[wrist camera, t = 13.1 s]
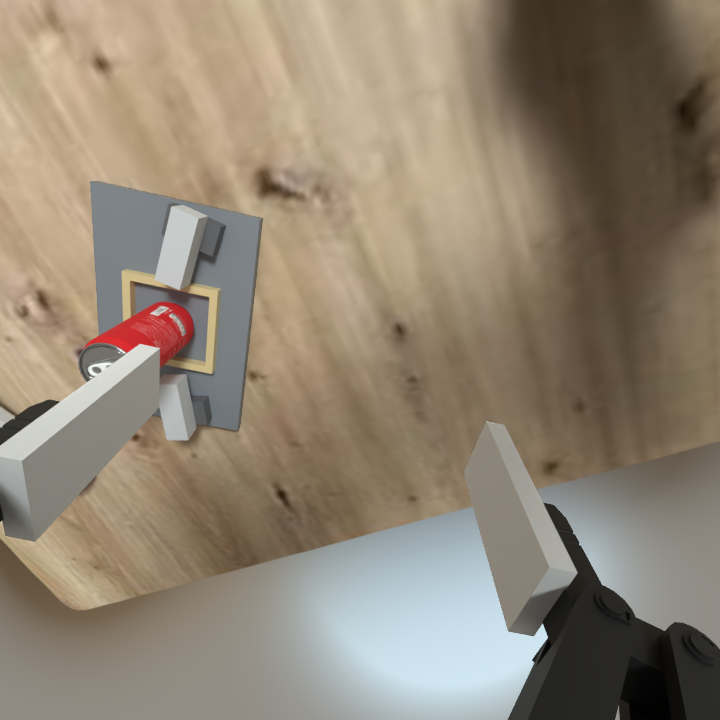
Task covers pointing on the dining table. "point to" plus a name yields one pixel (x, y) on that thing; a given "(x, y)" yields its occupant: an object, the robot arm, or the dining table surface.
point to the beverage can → (139, 337)
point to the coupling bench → (181, 294)
